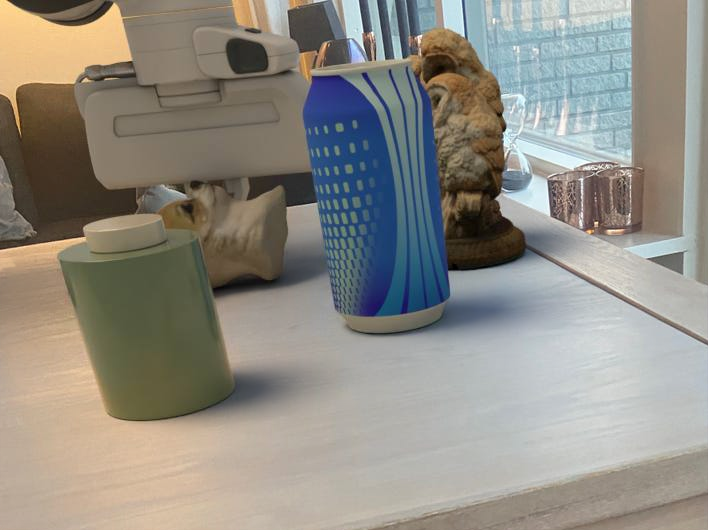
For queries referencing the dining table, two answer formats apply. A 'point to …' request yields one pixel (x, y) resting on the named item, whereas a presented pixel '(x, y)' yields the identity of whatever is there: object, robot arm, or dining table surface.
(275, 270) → the ceramic sculpture
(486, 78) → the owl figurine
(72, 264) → the green lidded jar
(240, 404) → the dining table surface
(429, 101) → the beer can
